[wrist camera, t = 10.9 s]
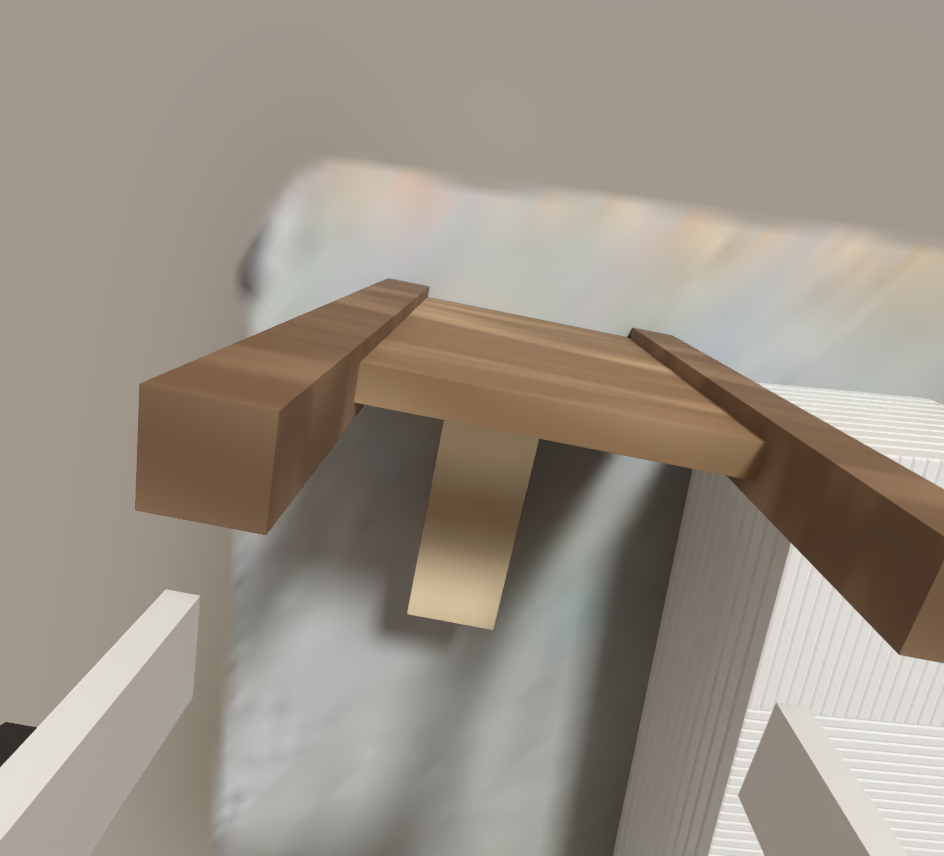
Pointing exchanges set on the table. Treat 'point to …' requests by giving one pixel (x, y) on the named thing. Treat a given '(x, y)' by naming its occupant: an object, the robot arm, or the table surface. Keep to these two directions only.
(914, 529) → the wooden cleated plank
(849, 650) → the white ribbed block
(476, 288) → the table surface
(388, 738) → the table surface
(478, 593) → the tan wooden block
